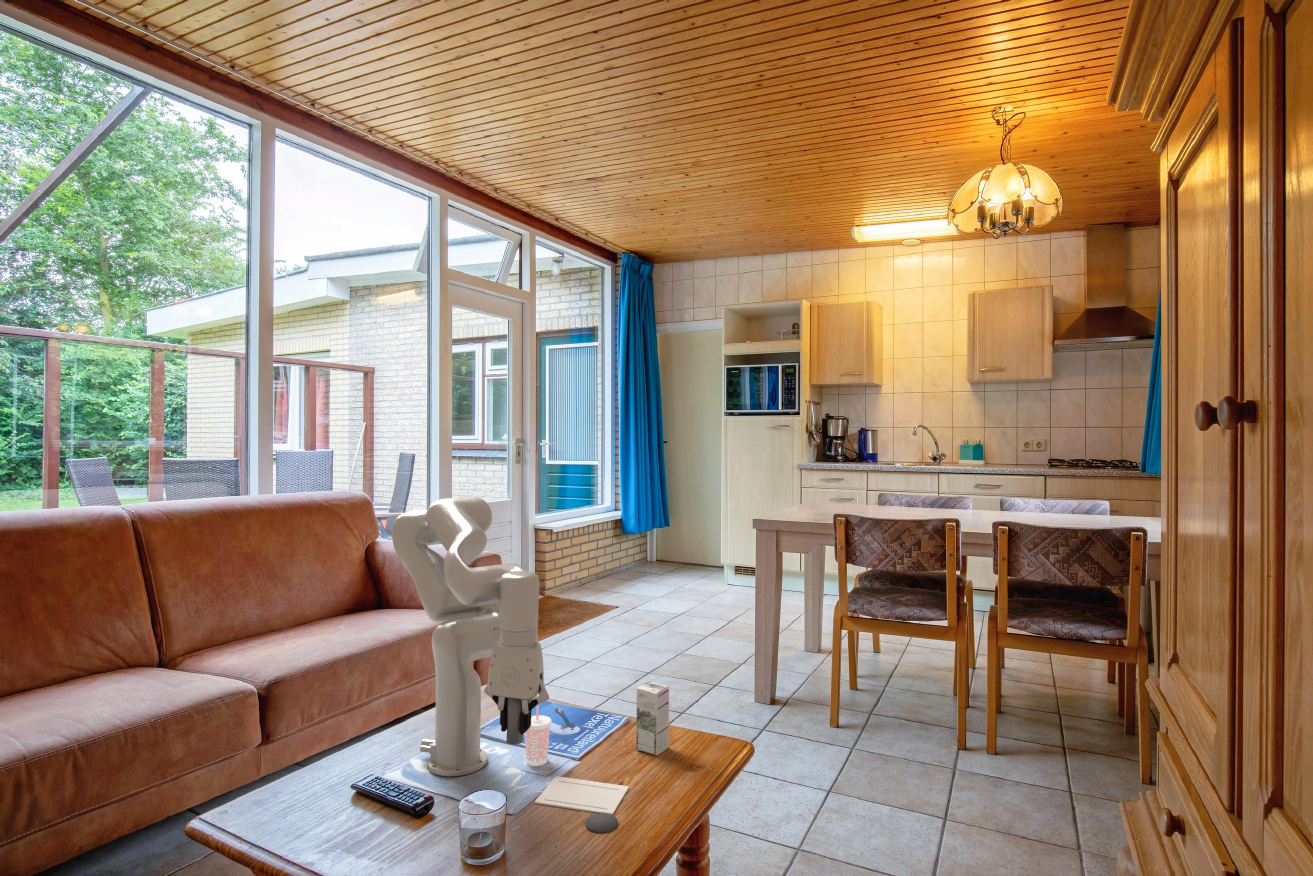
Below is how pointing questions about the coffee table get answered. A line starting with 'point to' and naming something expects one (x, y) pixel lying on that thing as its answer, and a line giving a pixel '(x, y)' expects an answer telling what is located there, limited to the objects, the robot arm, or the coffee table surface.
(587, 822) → the coaster
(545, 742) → the beverage cup
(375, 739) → the coffee table surface
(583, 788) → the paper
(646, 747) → the syrup box
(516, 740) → the marker
